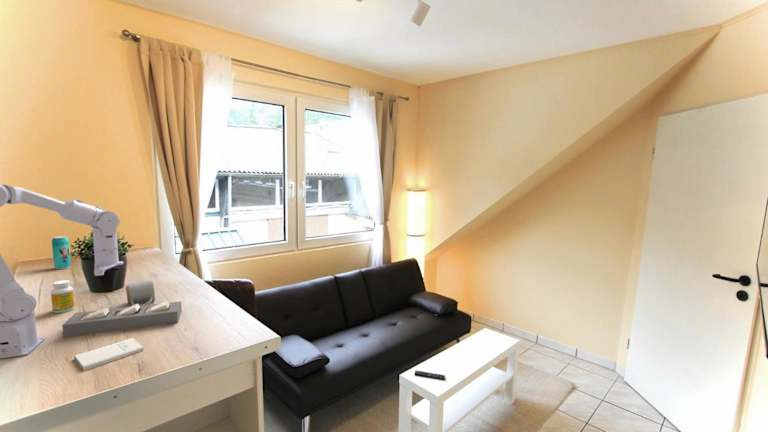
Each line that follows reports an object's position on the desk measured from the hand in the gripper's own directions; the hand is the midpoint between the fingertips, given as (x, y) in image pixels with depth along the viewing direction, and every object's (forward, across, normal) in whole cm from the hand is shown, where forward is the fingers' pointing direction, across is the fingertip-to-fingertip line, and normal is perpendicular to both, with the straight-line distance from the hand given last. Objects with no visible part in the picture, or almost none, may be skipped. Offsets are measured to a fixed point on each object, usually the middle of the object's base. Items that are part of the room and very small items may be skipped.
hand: (109, 291), depth 107 cm
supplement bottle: (+10, +14, +17) cm, 24 cm away
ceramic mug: (+10, +13, -6) cm, 17 cm away
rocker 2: (+6, -4, -5) cm, 9 cm away
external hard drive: (+10, -24, -6) cm, 27 cm away
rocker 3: (+6, -4, -13) cm, 15 cm away
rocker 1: (+6, -4, +3) cm, 8 cm away
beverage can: (+10, +74, +39) cm, 84 cm away
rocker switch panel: (+9, -4, -5) cm, 12 cm away
